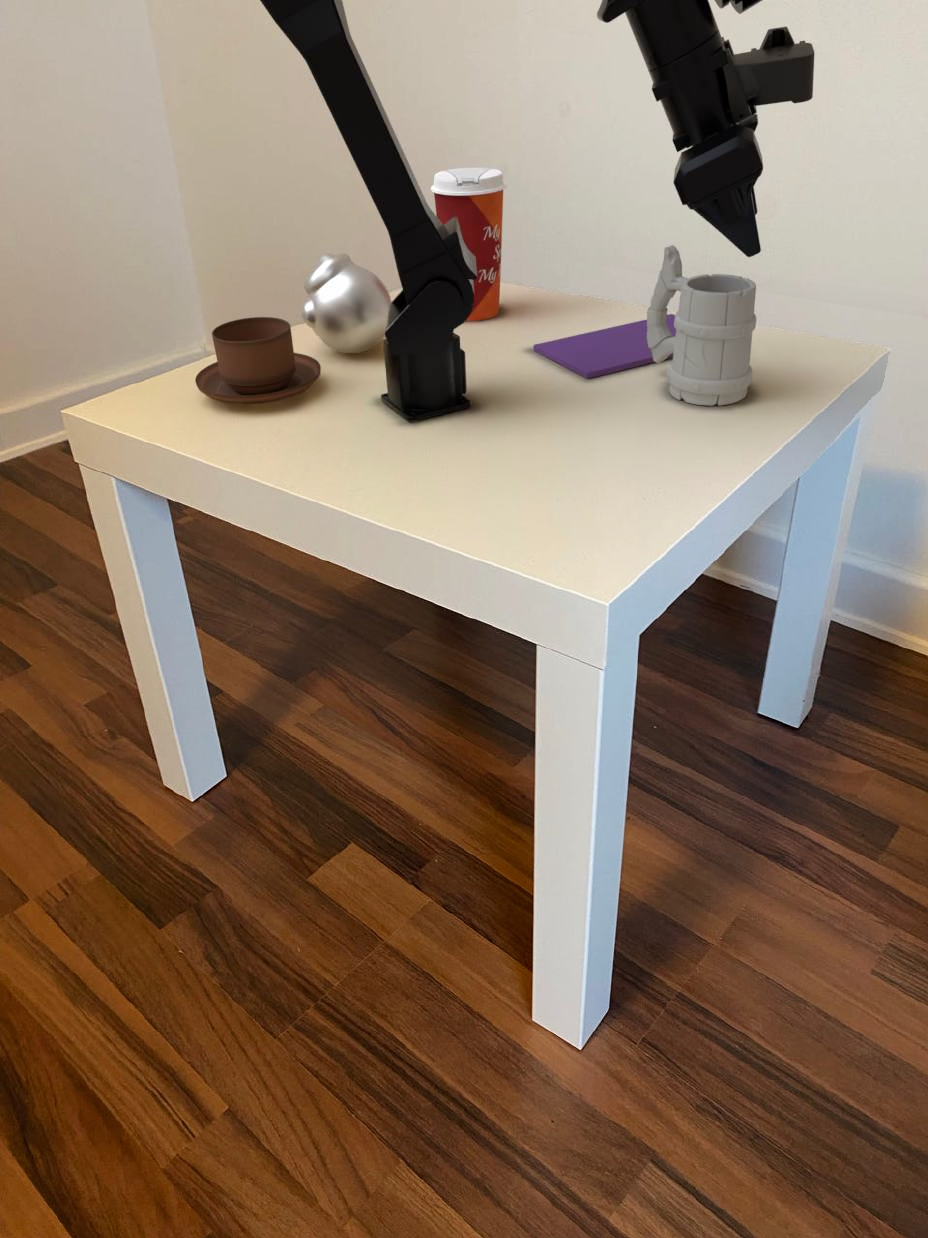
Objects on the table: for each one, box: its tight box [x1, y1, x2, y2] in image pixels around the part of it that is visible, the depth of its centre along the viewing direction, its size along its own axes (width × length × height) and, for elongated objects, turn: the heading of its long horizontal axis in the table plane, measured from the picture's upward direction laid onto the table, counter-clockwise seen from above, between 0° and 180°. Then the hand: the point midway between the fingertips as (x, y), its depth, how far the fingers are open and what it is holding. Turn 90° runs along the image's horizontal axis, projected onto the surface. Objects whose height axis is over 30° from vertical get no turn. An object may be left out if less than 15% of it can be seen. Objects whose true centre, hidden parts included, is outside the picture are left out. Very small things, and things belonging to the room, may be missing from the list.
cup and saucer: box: [194, 316, 322, 406], centre depth 94 cm, size 12×12×6 cm
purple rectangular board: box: [533, 313, 676, 380], centre depth 101 cm, size 18×10×1 cm, turn 118°
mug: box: [646, 244, 757, 407], centre depth 89 cm, size 8×12×12 cm, turn 36°
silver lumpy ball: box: [301, 253, 392, 354], centre depth 101 cm, size 9×10×10 cm
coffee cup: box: [430, 167, 507, 322], centre depth 109 cm, size 8×8×15 cm
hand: (753, 234), depth 83 cm, fingers open, 9 cm apart
